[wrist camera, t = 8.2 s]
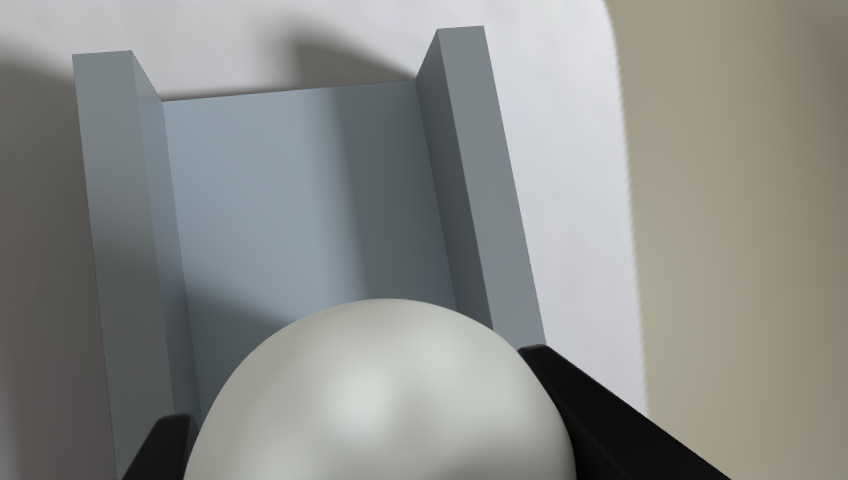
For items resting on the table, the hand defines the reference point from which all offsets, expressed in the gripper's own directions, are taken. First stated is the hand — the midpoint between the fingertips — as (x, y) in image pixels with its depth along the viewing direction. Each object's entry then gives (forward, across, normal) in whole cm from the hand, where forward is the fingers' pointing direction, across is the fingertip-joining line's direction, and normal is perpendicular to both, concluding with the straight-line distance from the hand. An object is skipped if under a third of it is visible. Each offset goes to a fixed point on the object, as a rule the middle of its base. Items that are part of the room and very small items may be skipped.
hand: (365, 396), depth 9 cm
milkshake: (+4, 0, +6) cm, 7 cm away
